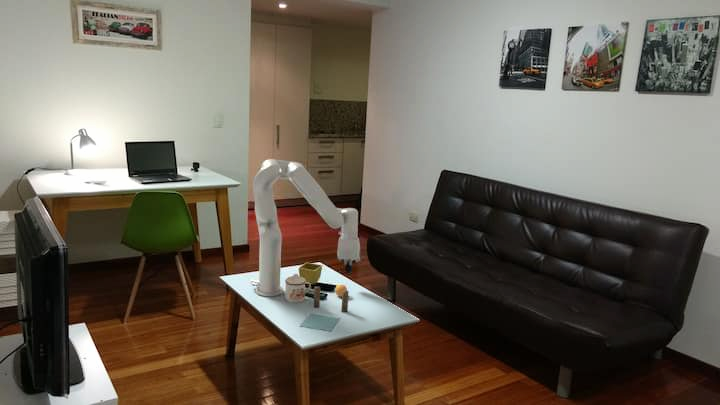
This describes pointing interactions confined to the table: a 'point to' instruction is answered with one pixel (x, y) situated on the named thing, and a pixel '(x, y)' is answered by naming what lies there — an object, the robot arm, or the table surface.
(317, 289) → the left post
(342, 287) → the ball
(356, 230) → the robot arm
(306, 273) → the flower pot
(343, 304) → the right post
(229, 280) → the table surface
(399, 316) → the table surface
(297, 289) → the teacup with lid
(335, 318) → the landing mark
